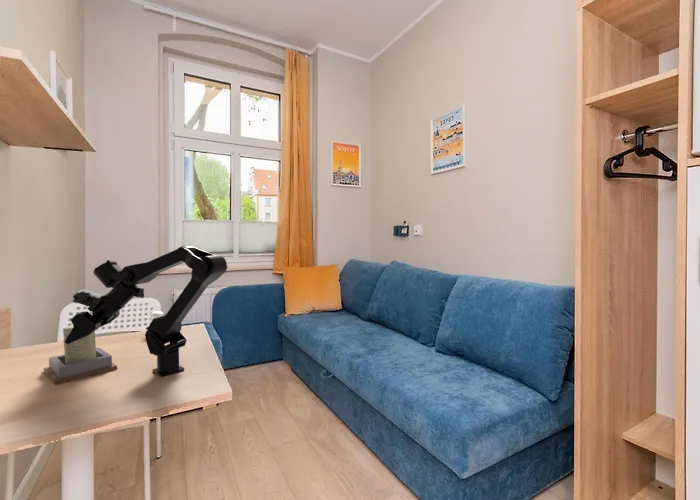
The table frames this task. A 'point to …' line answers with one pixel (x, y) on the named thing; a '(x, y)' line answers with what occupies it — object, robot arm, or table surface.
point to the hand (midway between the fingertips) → (74, 338)
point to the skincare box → (79, 347)
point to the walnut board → (78, 376)
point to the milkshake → (156, 314)
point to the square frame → (79, 364)
